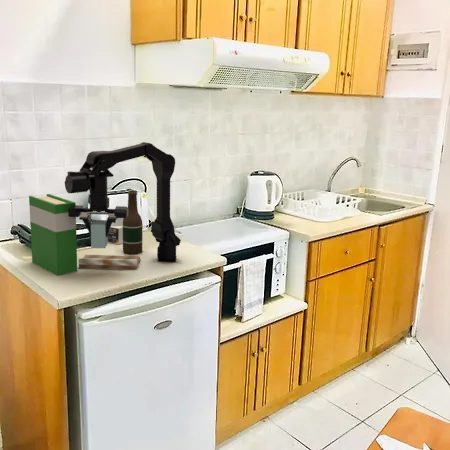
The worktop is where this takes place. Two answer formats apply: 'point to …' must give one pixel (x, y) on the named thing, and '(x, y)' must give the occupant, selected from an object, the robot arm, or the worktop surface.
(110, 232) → the medicine bottle
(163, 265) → the worktop surface
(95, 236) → the product carton
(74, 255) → the hardback book
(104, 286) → the worktop surface
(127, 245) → the beer bottle
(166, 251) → the robot arm
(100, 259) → the shelf board
